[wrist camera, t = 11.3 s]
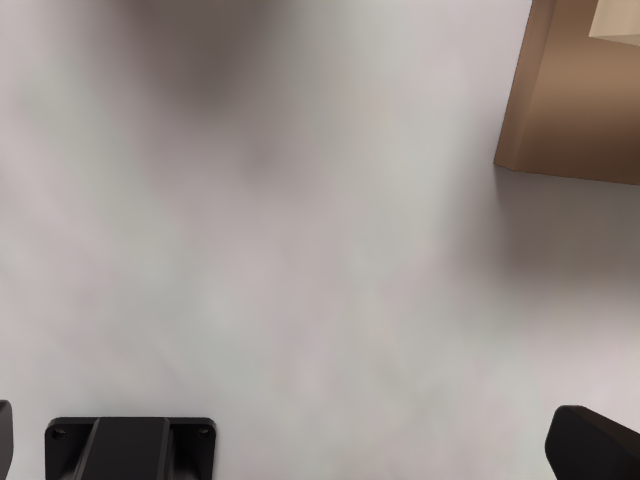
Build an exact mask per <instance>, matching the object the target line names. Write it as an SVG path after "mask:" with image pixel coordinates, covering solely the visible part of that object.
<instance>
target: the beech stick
mask: <svg viewBox="0 0 640 480" xmlns="http://www.w3.org/2000/svg"><path fill="white" fill-rule="evenodd" d="M589 37H594V38H599V39H604V40H610V41H615V42H621V43H626V44H632V45H637V46H640V0H599V1H598V4H597V8H596V12H595V15H594V19H593V22H592V26H591V29H590V33H589Z"/></svg>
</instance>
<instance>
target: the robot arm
mask: <svg viewBox="0 0 640 480" xmlns="http://www.w3.org/2000/svg"><path fill="white" fill-rule="evenodd" d="M56 429H61V430H63V431H64V432H65V433H58V432H56V431H55V430H56ZM201 429H207V430H208V431H207V432H205V433H202V432H199V430H201ZM215 439H216V424H215V423H214V421H213V420H211V419H210V418H191V417H59V418H55V419H53V420H51V422H50V423H49V424H48V426H47V429H46V431H45V478H46V480H212V469H213V459H214V449H215ZM545 453H546V457H547V459H548V461H549V463H550V466H551V468H552V470H553V472H554V474H555V476H556V478H557V480H640V434H639V433H637V432H635V431H633V430H631V429H629V428H627V427H625V426H623V425H621V424H619V423H617V422H615V421H613V420H611V419H608V418H606V417H604V416H602V415H600V414H598V413H596V412H594V411H592V410H590V409H588V408H586V407H583V406H579V405H563V406H560V407H558V408H557V410H556V411H555V413H554V416H553V419H552V422H551V426H550V429H549V432H548V435H547V438H546V441H545ZM12 457H13V420H12V407H11V404H10V402H9V401H7V400H0V480H6V477H7V474H8V471H9V468H10V465H11V461H12Z"/></svg>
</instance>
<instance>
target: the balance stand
mask: <svg viewBox="0 0 640 480" xmlns="http://www.w3.org/2000/svg"><path fill="white" fill-rule="evenodd" d="M598 1H599V0H533V3H532V7H531V11H530V15H529V19H528V24H527V28H526V32H525V36H524V40H523V44H522V48H521V52H520V56H519V61H518V65H517V69H516V73H515V77H514V81H513V85H512V89H511V94H510V98H509V102H508V106H507V110H506V114H505V118H504V122H503V126H502V131H501V135H500V139H499V143H498V147H497V151H496V155H495V159H494V163H495V164H497V165H500V166H502V167H505V168H507V169H510V170H513V171H519V172H527V173H536V174H545V175H553V176H562V177H571V178H579V179H588V180H597V181H605V182H614V183H623V184H631V185H640V46H637V45H632V44H626V43H621V42H615V41H610V40H604V39H599V38H594V37H589V33H590V29H591V26H592V22H593V19H594V15H595V12H596V8H597V4H598Z"/></svg>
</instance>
